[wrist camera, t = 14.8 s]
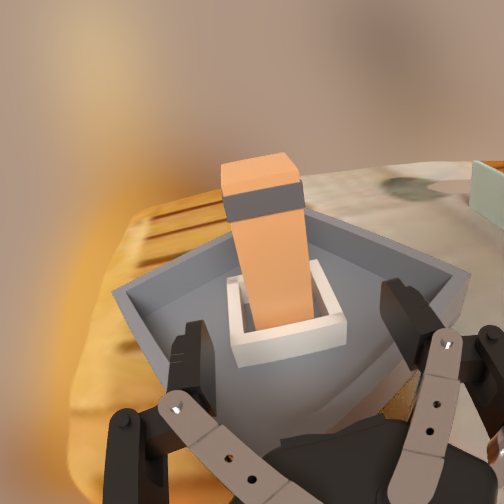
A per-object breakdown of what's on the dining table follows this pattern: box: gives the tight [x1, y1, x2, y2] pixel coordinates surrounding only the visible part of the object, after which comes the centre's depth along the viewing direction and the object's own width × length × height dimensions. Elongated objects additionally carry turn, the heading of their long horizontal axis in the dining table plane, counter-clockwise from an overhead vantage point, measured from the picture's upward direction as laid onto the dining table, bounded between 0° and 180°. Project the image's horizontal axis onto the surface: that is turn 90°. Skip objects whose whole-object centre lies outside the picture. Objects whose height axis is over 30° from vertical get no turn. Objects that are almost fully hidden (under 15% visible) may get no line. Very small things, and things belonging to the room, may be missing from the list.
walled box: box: [111, 207, 471, 458], centre depth 26 cm, size 22×22×4 cm
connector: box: [221, 153, 314, 331], centre depth 23 cm, size 5×5×13 cm
